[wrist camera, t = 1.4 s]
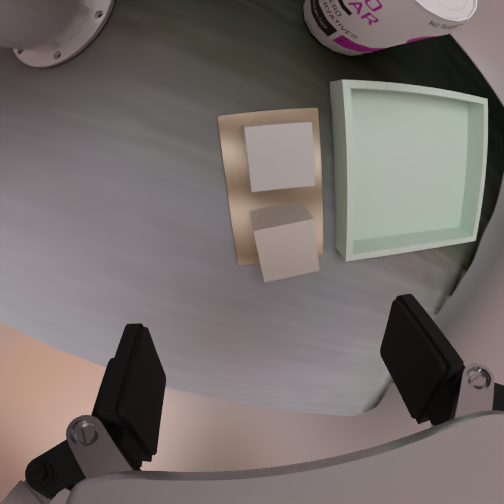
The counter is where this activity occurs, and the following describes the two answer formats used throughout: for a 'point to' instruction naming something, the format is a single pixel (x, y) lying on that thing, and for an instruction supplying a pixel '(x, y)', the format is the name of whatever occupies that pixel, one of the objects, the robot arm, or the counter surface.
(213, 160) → the counter surface
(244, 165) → the birch board
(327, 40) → the supplement can
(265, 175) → the stone
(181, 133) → the counter surface
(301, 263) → the stone
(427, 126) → the tub
